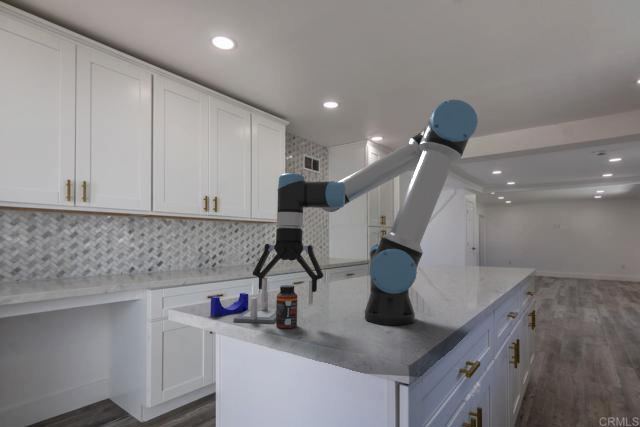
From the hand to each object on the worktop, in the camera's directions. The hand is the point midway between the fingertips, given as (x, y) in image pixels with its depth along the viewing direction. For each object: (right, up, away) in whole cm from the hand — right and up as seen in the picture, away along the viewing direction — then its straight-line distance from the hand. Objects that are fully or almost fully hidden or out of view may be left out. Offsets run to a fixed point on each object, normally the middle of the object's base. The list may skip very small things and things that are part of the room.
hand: (287, 302), depth 98 cm
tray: (-9, -7, +9) cm, 15 cm away
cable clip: (-21, -8, +16) cm, 27 cm away
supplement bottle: (0, -7, -1) cm, 7 cm away
